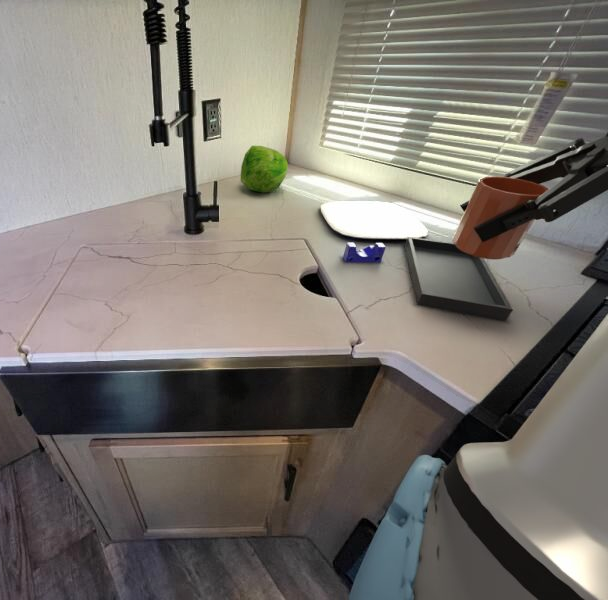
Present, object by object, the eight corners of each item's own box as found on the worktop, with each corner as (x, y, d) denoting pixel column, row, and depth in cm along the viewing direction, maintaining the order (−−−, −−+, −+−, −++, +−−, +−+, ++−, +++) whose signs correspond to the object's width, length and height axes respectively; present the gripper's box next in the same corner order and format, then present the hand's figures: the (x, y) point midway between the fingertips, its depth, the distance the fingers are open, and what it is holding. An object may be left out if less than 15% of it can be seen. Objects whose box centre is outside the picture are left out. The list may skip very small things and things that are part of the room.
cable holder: (374, 255, 83) (379, 239, 80) (380, 262, 80) (385, 247, 78) (341, 254, 83) (345, 239, 81) (345, 262, 80) (349, 246, 78)
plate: (396, 206, 108) (398, 201, 107) (437, 244, 87) (439, 238, 86) (313, 205, 108) (314, 200, 107) (335, 243, 88) (336, 236, 87)
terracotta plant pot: (525, 258, 58) (566, 193, 51) (478, 263, 56) (513, 197, 50) (482, 234, 65) (512, 174, 58) (439, 239, 64) (465, 178, 57)
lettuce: (277, 180, 128) (292, 144, 118) (275, 209, 114) (292, 170, 104) (239, 169, 128) (251, 131, 118) (232, 196, 114) (245, 156, 104)
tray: (505, 321, 63) (513, 309, 62) (417, 304, 67) (422, 293, 66) (471, 255, 83) (476, 245, 81) (404, 246, 87) (407, 236, 85)
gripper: (744, 171, 38) (500, 271, 52) (628, 132, 54) (466, 215, 68) (722, 114, 36) (475, 233, 50) (608, 91, 53) (447, 185, 66)
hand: (470, 222), depth 59 cm, fingers closed on terracotta plant pot, 9 cm apart
